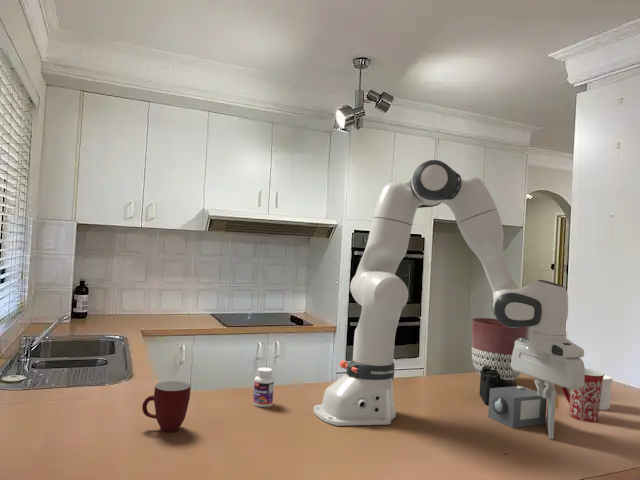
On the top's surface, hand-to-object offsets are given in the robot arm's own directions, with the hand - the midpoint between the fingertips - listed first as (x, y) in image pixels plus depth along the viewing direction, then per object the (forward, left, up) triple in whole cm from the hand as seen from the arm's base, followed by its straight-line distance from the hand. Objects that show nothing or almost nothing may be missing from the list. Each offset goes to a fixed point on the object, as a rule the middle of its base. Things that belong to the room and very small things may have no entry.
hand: (543, 397), depth 132 cm
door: (+4, +1, -9) cm, 10 cm away
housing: (+2, +10, -10) cm, 14 cm away
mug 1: (-90, +28, -10) cm, 95 cm away
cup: (+39, +15, -10) cm, 43 cm away
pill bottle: (-62, +40, -10) cm, 74 cm away
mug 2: (+25, +9, -10) cm, 28 cm away
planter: (+28, +45, -10) cm, 54 cm away
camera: (+11, +26, -10) cm, 30 cm away
